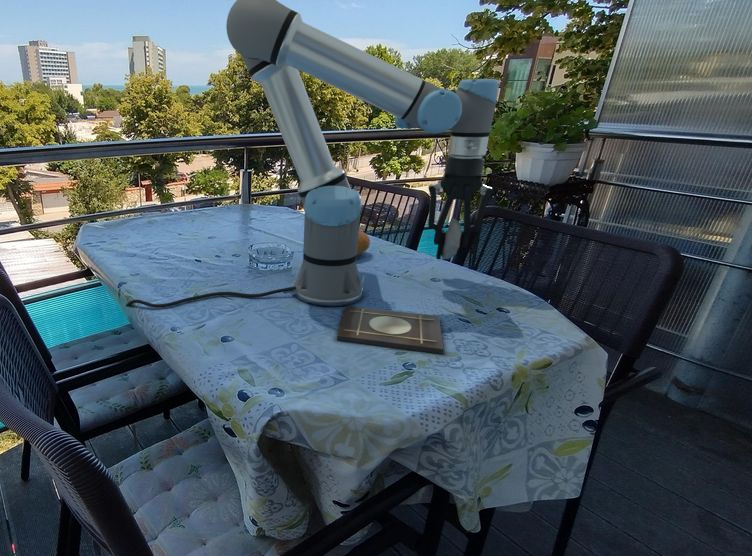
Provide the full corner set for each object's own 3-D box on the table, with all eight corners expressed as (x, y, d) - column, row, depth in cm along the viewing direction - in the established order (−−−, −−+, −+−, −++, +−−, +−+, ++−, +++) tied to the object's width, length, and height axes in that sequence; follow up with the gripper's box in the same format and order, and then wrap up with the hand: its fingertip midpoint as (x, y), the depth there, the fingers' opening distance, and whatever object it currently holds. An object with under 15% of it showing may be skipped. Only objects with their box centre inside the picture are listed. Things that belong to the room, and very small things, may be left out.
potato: (324, 255, 133) (325, 229, 130) (351, 247, 138) (352, 223, 135) (349, 263, 126) (351, 236, 123) (376, 254, 131) (379, 229, 128)
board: (336, 340, 86) (337, 334, 86) (345, 310, 98) (346, 305, 98) (442, 354, 80) (443, 348, 80) (438, 320, 92) (439, 315, 92)
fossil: (458, 263, 108) (466, 221, 104) (442, 263, 109) (449, 221, 105) (452, 256, 113) (459, 215, 109) (437, 255, 114) (444, 215, 110)
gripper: (425, 157, 101) (410, 259, 110) (511, 159, 96) (488, 266, 105) (424, 153, 108) (410, 250, 117) (505, 155, 102) (483, 256, 112)
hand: (447, 258), depth 111 cm, fingers closed on fossil, 3 cm apart
